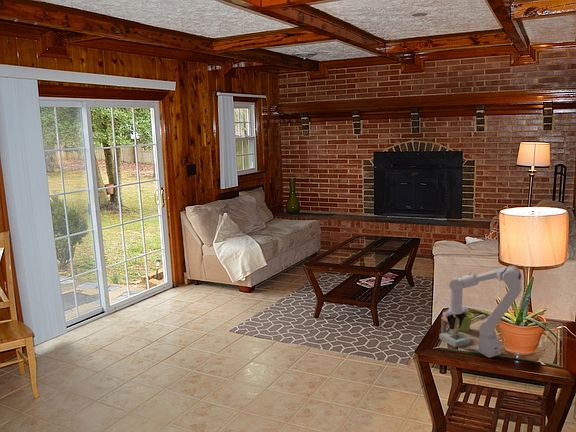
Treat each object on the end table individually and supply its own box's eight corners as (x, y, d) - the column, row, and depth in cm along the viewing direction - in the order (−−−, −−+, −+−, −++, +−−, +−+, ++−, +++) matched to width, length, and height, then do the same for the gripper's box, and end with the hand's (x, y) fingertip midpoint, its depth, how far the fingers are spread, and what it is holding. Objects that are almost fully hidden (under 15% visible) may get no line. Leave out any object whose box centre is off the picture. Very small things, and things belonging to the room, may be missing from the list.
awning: (457, 336, 264) (458, 317, 262) (446, 338, 261) (447, 320, 259) (451, 332, 268) (451, 314, 266) (440, 335, 265) (441, 317, 263)
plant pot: (475, 333, 267) (475, 317, 265) (456, 333, 267) (457, 317, 265) (469, 326, 276) (469, 310, 274) (451, 326, 276) (452, 311, 275)
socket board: (470, 342, 256) (470, 338, 256) (454, 347, 252) (454, 342, 252) (454, 334, 266) (454, 330, 266) (439, 338, 262) (439, 333, 262)
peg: (458, 330, 255) (458, 317, 253) (459, 334, 251) (459, 320, 250) (450, 330, 255) (451, 317, 254) (451, 333, 252) (452, 320, 250)
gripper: (461, 296, 257) (460, 322, 260) (438, 301, 251) (437, 328, 253) (471, 301, 251) (470, 327, 253) (449, 306, 244) (448, 333, 247)
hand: (454, 328), depth 253 cm, fingers closed on peg, 4 cm apart
